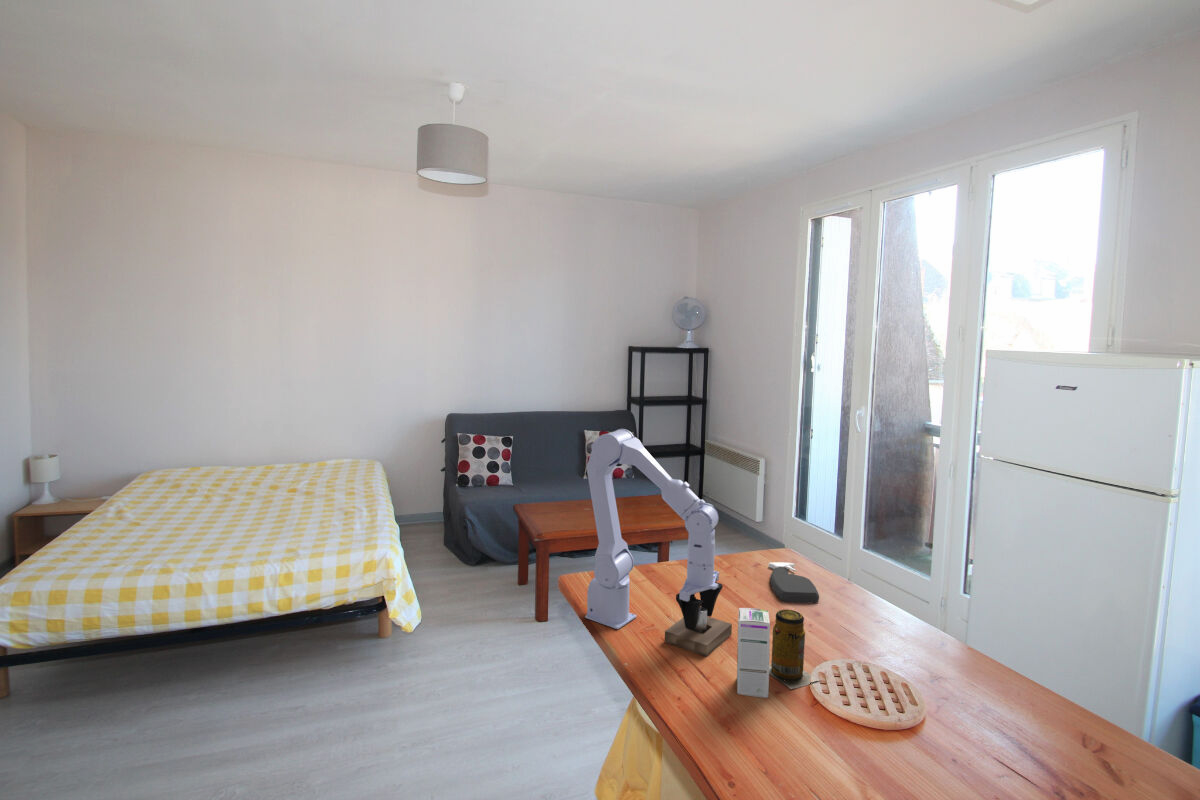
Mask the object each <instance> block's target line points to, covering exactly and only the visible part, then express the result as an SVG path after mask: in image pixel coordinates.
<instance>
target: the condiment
mask: <svg viewBox="0 0 1200 800" xmlns="http://www.w3.org/2000/svg"><path fill="white" fill-rule="evenodd" d="M804 621H805V618H804V616H803V614H802V613H801V612H799V611H797V610H792V609H779V610H778V611H777V612H776V613H775V621H774V622H775V623H774V625H773V628H772V641H771V644H772V646H771V661H770V663H771V664H769V676H771V677H772V678H774V679H775V680H778V681H779V682H780V683H781V684H783V685H784V686H786V687H787V688H788V689H790V690H792V689H798V688H802V687H805V686H809V685H811V684H810V678H811V675H812V674H810V673H809V672H807V671H806V670H804V665H805V663H804V662H805V659H804V658H805V642H806V630H805V627H804V626H805V624H804Z"/></svg>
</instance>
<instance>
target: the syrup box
mask: <svg viewBox="0 0 1200 800" xmlns="http://www.w3.org/2000/svg"><path fill="white" fill-rule="evenodd" d="M769 613H770V611H769V610H767V609H761V608H753V607H739V608H738V617H737V619H738V620H737V654H736V655H737V657H736V658H737V659H736V661H737V664H736V666H737V667H736V689H737V690H736V693H737V695H741V696H749V697H754V698H755V697H756V698H763V699H768V698H769V689H770V688H769V683H770V674H769V665H770V655H771V654H770V645H771V644H770V643H771V641H770V640H771V639H770V636H771V632H770V631H771V624H770V623H771V621H770V614H769Z"/></svg>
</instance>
